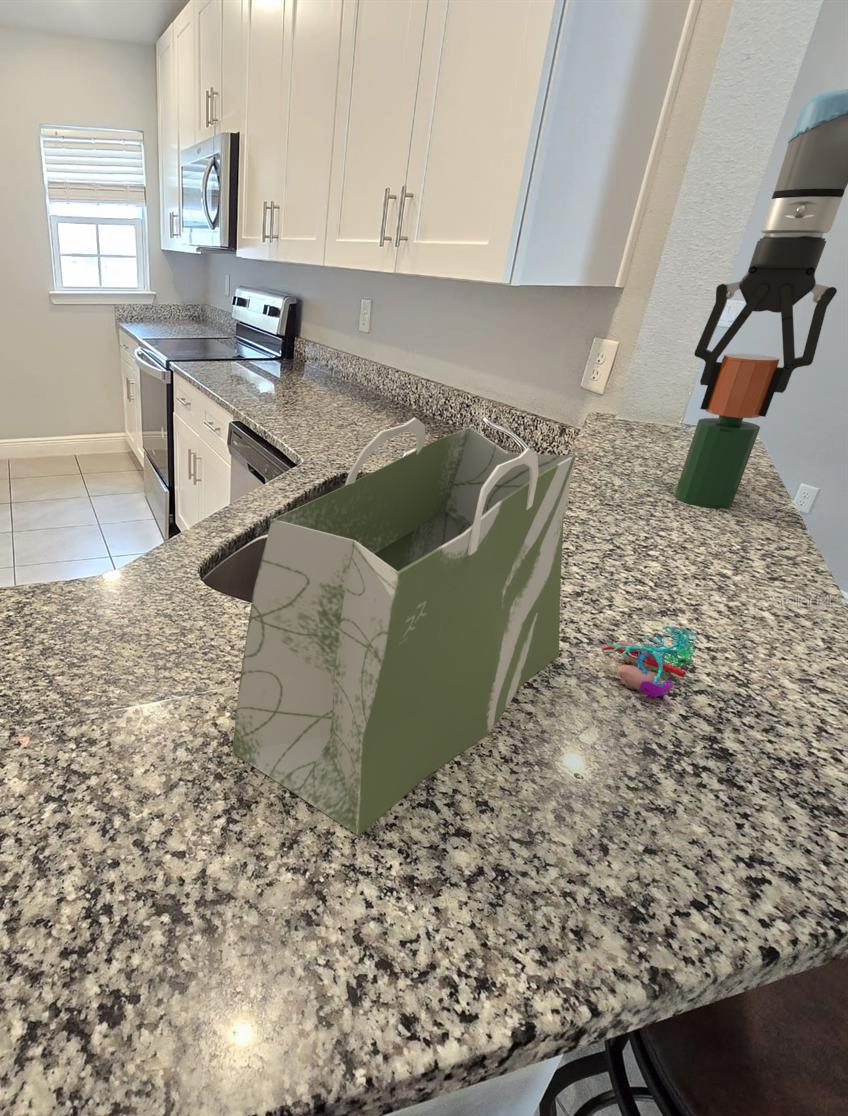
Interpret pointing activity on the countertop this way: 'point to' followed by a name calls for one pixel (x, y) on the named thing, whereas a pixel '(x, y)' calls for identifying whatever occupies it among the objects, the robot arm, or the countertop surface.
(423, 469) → the grocery bag
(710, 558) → the countertop surface
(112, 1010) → the countertop surface
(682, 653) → the anatomy model
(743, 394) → the orange octagonal cylinder
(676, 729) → the countertop surface
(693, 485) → the bottle
